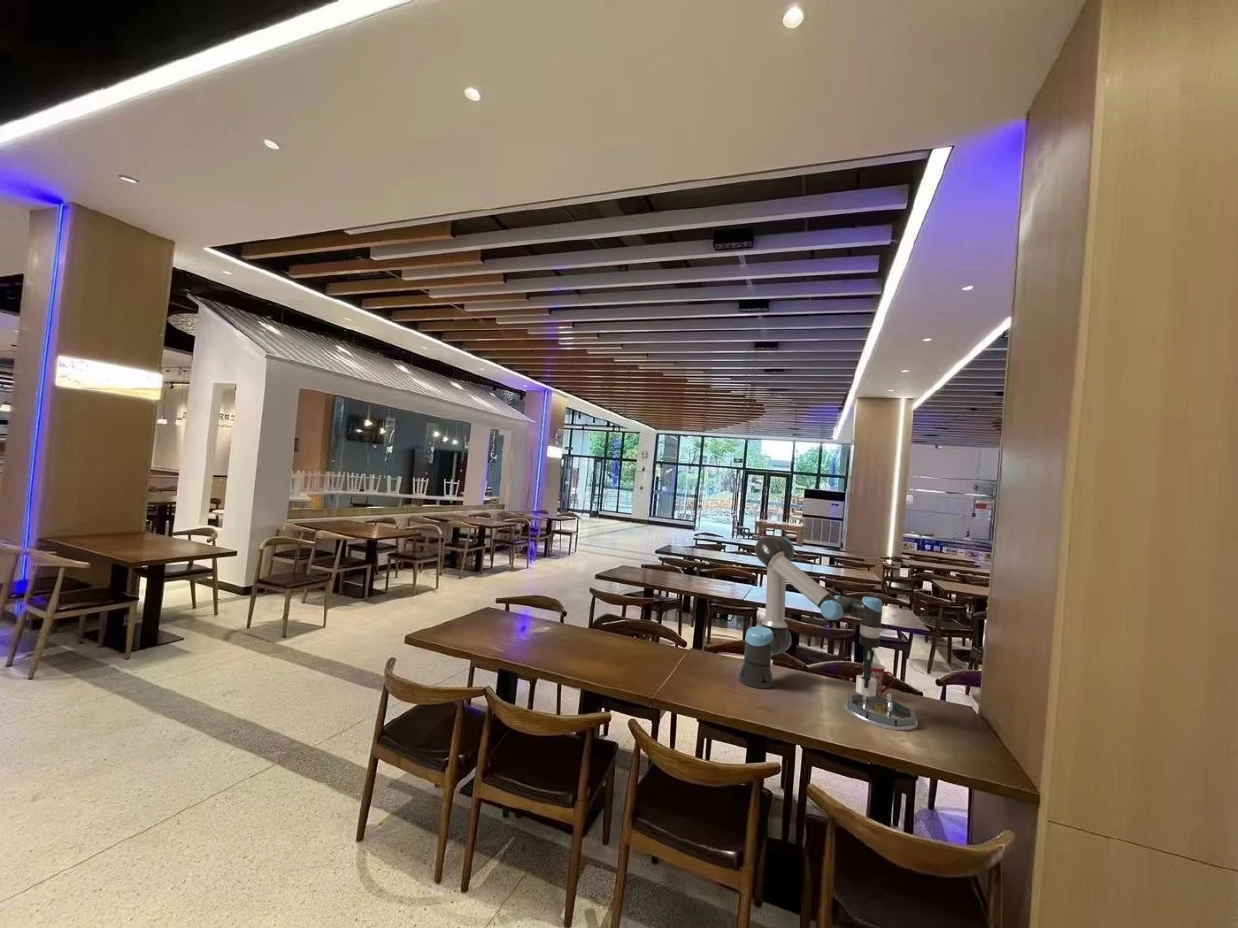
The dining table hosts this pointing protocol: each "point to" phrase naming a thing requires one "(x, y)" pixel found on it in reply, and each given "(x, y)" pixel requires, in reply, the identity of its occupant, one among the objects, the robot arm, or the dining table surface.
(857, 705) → the tray
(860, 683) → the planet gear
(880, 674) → the mug
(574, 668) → the dining table surface
